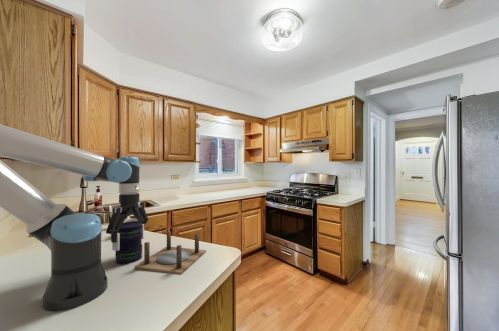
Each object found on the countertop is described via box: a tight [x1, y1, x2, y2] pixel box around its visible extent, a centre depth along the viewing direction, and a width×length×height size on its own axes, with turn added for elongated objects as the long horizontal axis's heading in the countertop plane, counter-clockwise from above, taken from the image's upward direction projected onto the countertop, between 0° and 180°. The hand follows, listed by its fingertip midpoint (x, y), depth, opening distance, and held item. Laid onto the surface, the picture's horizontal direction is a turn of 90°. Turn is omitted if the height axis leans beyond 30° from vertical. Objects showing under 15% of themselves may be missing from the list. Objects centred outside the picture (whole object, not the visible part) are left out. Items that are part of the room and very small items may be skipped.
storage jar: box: [114, 221, 144, 265], centre depth 87 cm, size 10×10×15 cm
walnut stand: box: [134, 230, 207, 275], centre depth 86 cm, size 20×20×10 cm
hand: (129, 243), depth 87 cm, fingers open, 12 cm apart
